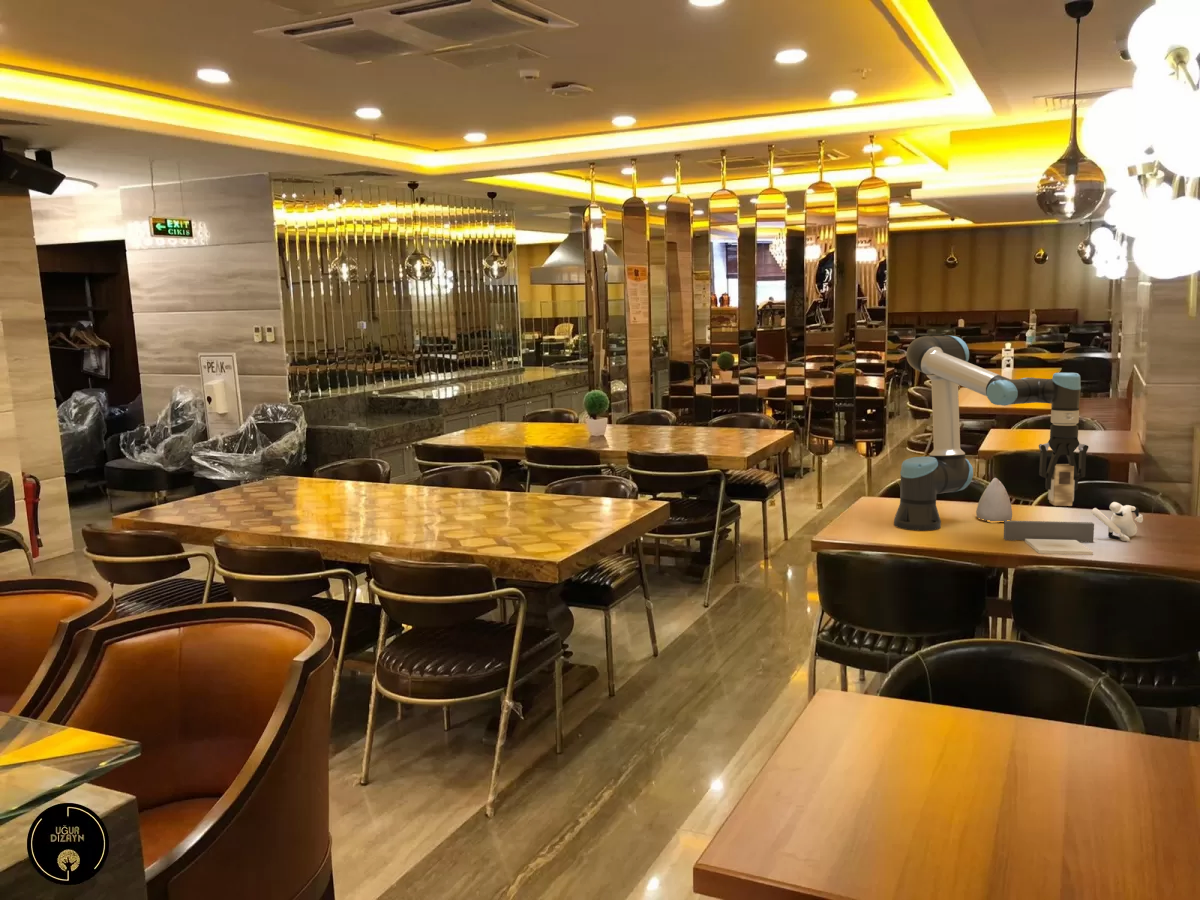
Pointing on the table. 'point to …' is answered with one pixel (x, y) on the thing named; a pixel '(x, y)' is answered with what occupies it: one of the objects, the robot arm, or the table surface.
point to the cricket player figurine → (1120, 520)
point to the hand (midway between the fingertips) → (1060, 500)
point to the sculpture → (994, 503)
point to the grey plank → (1049, 530)
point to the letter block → (1063, 485)
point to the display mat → (1058, 546)
